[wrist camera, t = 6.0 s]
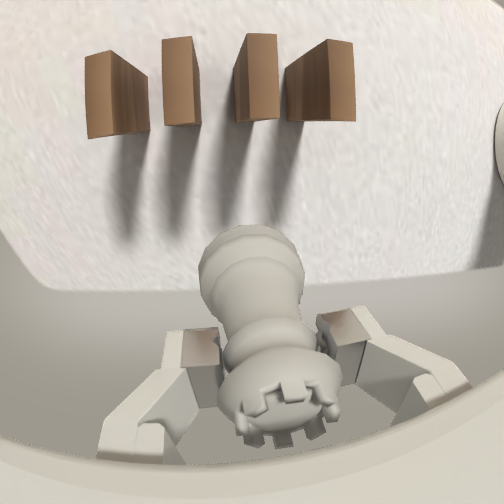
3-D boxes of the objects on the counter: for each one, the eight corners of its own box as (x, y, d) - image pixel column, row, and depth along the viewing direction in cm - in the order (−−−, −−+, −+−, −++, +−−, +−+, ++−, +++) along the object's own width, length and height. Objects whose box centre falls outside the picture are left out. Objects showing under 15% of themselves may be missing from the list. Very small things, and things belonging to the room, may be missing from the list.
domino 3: (252, 67, 21) (276, 34, 12) (254, 121, 23) (280, 118, 14) (233, 68, 21) (246, 33, 12) (235, 122, 23) (250, 118, 14)
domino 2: (199, 70, 21) (191, 35, 12) (201, 124, 23) (194, 122, 14) (180, 72, 21) (161, 39, 12) (183, 126, 23) (164, 125, 14)
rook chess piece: (283, 313, 14) (334, 455, 7) (192, 303, 13) (187, 461, 6) (309, 229, 13) (411, 356, 5) (206, 212, 12) (200, 354, 5)
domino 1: (147, 76, 20) (110, 49, 11) (150, 130, 22) (113, 133, 13) (130, 79, 20) (85, 56, 11) (132, 133, 22) (87, 139, 13)
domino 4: (302, 69, 22) (352, 42, 13) (304, 121, 24) (355, 121, 15) (285, 68, 22) (327, 38, 13) (287, 121, 24) (330, 119, 15)
